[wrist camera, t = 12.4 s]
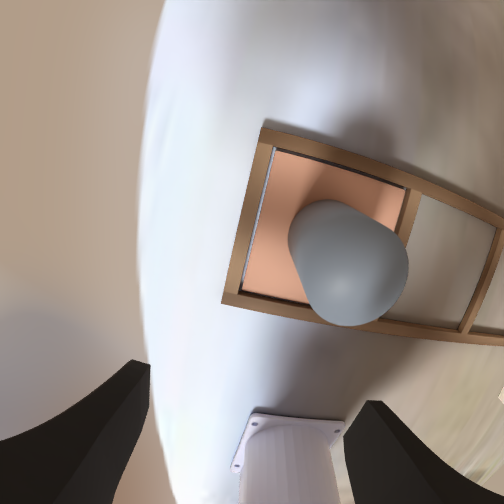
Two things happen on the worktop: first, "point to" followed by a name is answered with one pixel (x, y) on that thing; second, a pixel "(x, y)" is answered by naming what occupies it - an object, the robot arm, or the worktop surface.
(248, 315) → the worktop surface
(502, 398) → the die
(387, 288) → the grey rounded cylinder
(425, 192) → the board
